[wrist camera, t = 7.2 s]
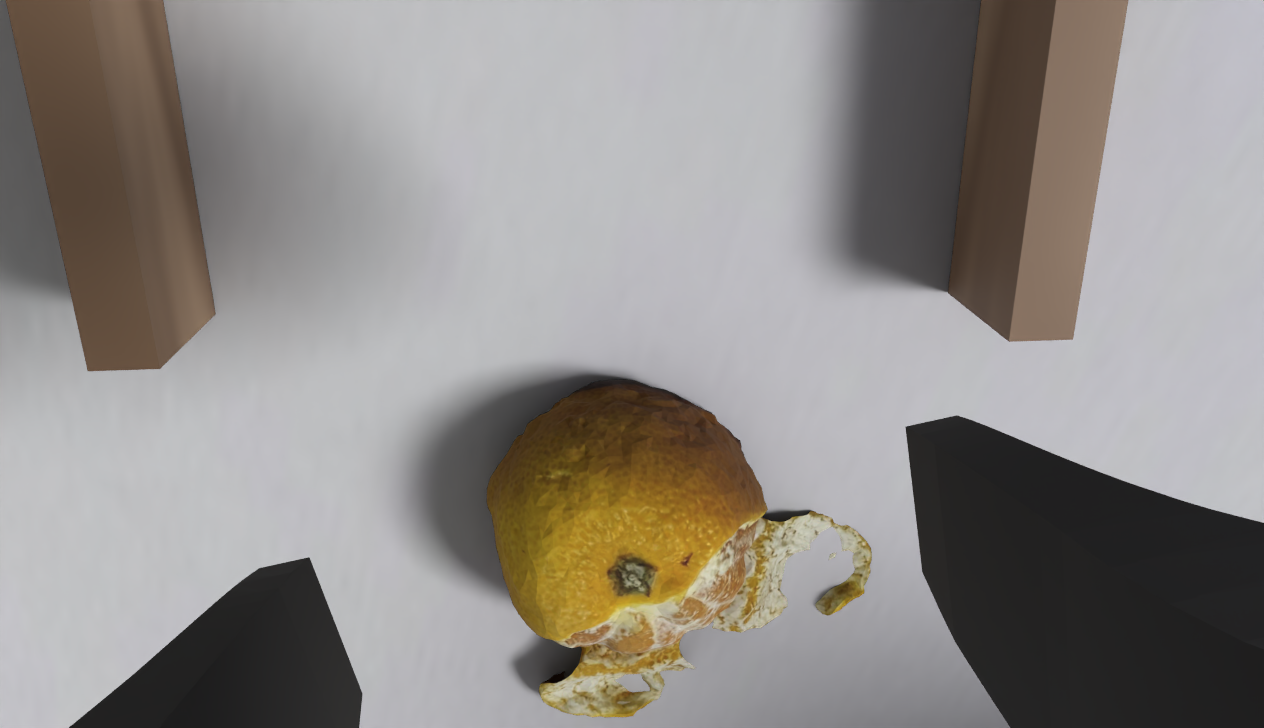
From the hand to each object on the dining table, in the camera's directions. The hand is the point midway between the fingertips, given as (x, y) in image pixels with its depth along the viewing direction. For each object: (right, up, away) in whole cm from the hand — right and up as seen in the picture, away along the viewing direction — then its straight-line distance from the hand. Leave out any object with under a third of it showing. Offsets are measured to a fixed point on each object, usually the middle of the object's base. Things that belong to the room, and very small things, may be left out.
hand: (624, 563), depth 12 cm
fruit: (0, -2, +12) cm, 12 cm away
